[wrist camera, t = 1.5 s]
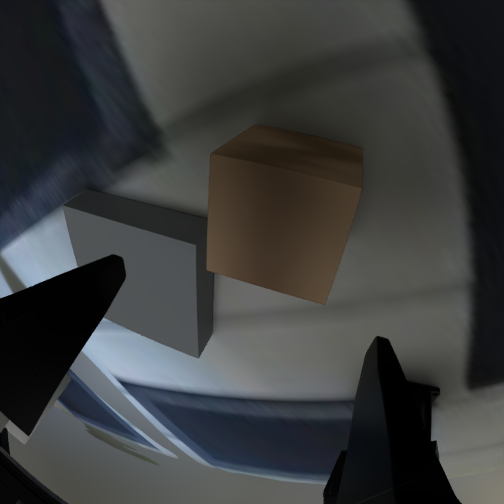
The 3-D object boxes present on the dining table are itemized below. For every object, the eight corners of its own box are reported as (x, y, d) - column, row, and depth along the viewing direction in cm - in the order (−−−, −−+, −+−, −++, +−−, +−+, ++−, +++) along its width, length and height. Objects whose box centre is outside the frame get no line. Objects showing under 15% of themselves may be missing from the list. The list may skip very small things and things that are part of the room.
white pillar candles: (56, 360, 54) (4, 427, 38) (77, 383, 57) (30, 449, 41) (38, 356, 59) (-8, 413, 44) (56, 376, 62) (14, 433, 47)
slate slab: (215, 221, 21) (195, 245, 19) (212, 334, 28) (198, 358, 26) (87, 189, 24) (62, 205, 21) (108, 293, 31) (92, 311, 28)
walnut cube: (362, 148, 16) (362, 188, 11) (337, 239, 19) (325, 304, 15) (256, 124, 17) (210, 153, 12) (246, 214, 20) (206, 270, 16)
